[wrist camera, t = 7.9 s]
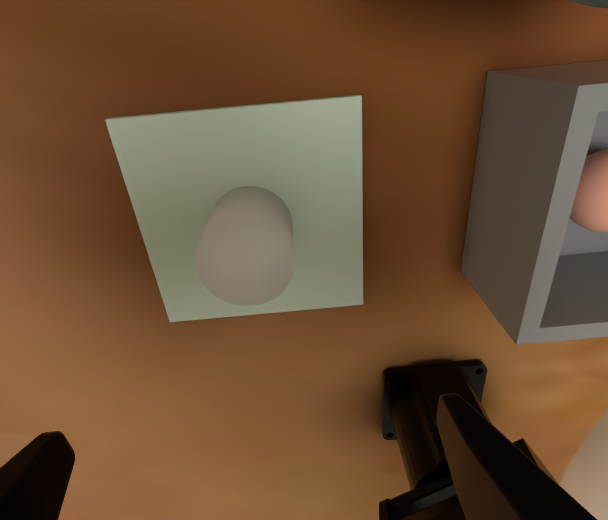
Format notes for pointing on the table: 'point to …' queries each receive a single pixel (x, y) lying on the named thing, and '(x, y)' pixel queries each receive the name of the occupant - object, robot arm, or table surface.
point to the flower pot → (593, 3)
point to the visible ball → (592, 194)
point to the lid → (249, 204)
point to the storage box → (539, 203)
